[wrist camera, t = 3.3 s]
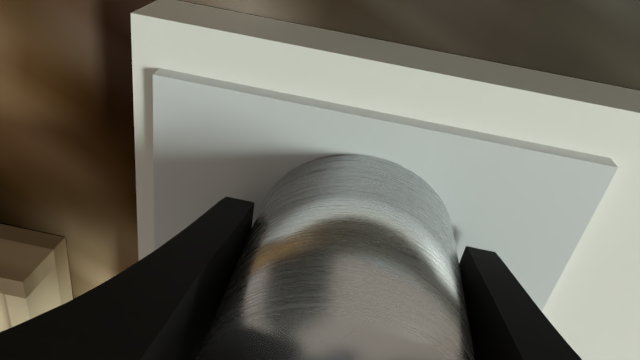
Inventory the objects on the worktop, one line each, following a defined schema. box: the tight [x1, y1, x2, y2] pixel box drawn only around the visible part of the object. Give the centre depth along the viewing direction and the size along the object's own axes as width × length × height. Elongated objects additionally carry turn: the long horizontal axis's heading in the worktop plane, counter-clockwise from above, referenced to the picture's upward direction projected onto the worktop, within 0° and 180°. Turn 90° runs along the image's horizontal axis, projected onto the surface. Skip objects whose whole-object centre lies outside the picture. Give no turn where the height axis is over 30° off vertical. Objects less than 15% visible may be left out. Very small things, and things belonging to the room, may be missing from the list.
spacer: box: [196, 154, 475, 360], centre depth 9 cm, size 4×4×4 cm
